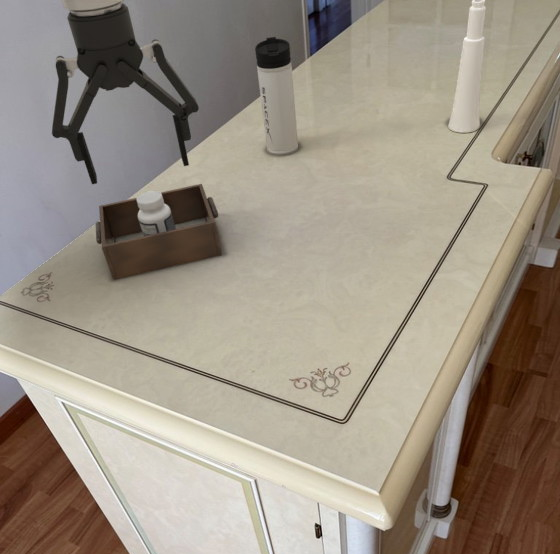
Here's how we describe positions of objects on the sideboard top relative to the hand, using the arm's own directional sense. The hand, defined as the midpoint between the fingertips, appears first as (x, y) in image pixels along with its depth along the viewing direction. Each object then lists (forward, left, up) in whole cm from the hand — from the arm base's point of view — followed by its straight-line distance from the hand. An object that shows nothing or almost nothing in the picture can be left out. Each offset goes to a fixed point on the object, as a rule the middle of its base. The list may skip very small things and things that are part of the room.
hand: (140, 171), depth 87 cm
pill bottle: (0, 0, -13) cm, 13 cm away
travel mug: (+27, +26, -14) cm, 40 cm away
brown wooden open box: (0, 0, -14) cm, 14 cm away
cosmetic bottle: (+63, +20, -14) cm, 68 cm away
